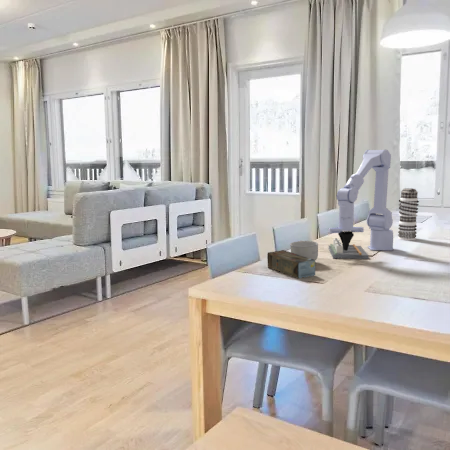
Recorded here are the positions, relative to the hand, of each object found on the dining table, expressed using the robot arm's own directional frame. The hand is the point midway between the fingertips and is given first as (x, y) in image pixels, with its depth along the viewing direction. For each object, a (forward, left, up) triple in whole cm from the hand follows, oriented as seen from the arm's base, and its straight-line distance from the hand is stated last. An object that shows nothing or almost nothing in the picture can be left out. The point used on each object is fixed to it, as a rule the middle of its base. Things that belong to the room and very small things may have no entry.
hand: (345, 249), depth 191 cm
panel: (-2, -7, -3) cm, 7 cm away
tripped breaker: (+3, 0, -1) cm, 3 cm away
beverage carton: (+23, +26, -3) cm, 35 cm away
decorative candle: (-36, -45, -3) cm, 57 cm away
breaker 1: (+2, -13, -1) cm, 13 cm away
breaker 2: (+2, -7, -1) cm, 7 cm away
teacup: (+17, +10, -3) cm, 20 cm away
